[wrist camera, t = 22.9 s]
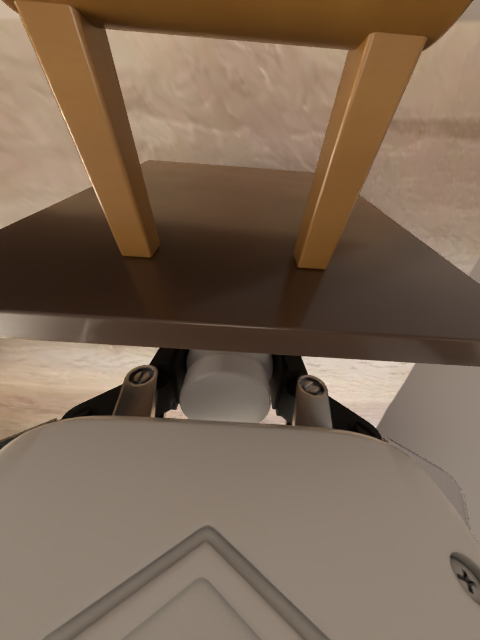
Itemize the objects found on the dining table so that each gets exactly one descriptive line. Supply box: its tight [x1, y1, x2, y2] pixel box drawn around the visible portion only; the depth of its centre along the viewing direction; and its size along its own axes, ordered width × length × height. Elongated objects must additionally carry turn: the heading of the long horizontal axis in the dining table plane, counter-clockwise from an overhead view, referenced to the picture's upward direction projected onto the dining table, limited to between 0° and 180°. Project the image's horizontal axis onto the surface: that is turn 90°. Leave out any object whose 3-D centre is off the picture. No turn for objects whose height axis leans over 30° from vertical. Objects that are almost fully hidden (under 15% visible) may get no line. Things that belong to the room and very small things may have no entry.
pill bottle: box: [179, 349, 273, 423], centre depth 12 cm, size 5×5×8 cm
